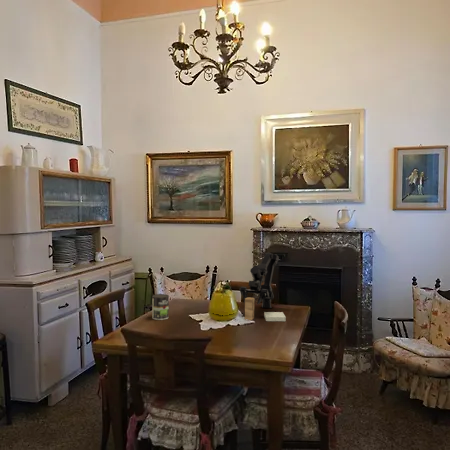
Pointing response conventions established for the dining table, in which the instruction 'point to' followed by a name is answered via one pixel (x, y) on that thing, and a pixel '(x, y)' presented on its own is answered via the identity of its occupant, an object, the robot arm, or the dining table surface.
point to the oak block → (249, 308)
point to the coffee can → (160, 306)
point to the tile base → (274, 316)
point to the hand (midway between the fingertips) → (250, 303)
